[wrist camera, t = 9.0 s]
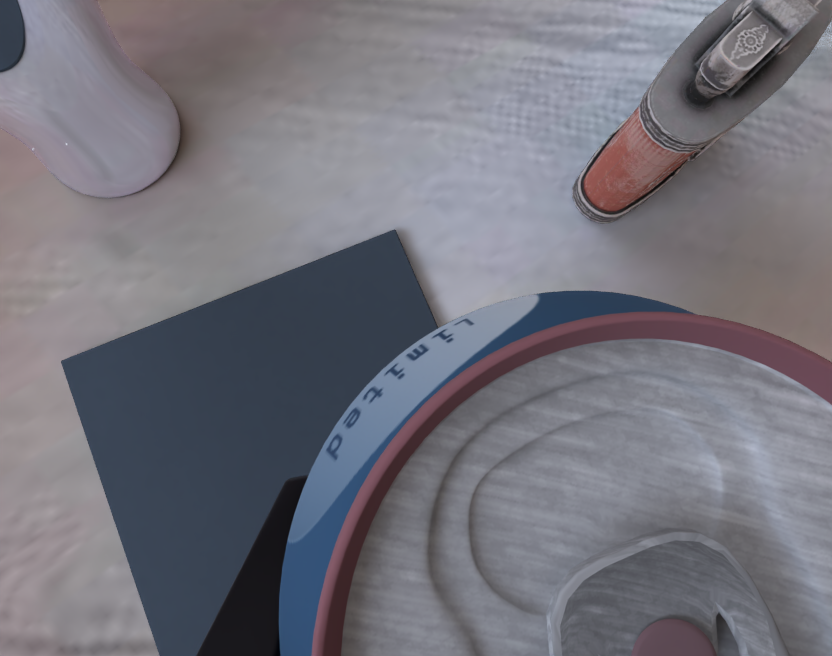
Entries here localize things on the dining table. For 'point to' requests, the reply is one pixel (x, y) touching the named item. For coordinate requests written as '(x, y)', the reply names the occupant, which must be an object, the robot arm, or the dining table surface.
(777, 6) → the lighter
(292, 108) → the dining table surface
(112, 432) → the placemat
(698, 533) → the soda can
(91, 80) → the beer glass
